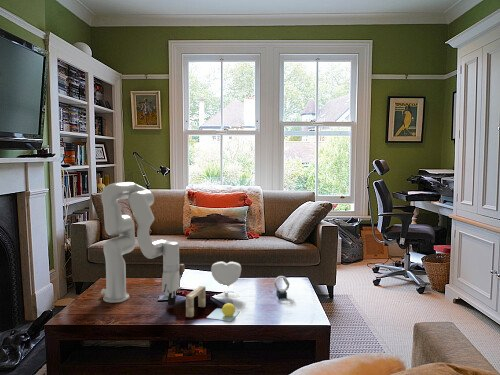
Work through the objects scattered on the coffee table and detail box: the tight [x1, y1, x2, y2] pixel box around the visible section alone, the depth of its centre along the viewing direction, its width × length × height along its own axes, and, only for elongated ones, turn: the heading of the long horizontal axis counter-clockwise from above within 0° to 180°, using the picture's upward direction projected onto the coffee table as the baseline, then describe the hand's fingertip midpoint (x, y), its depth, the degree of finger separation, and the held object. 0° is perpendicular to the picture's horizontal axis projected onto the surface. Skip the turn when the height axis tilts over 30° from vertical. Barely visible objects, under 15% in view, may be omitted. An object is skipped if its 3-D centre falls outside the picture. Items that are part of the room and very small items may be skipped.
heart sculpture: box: [210, 261, 242, 299], centre depth 210 cm, size 16×5×18 cm, turn 88°
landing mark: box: [206, 307, 241, 322], centre depth 185 cm, size 12×12×1 cm
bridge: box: [185, 285, 207, 318], centre depth 189 cm, size 3×15×10 cm, turn 162°
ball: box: [221, 302, 236, 317], centre depth 183 cm, size 6×6×6 cm
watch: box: [273, 275, 290, 300], centre depth 209 cm, size 6×8×11 cm
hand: (171, 304), depth 193 cm, fingers closed
